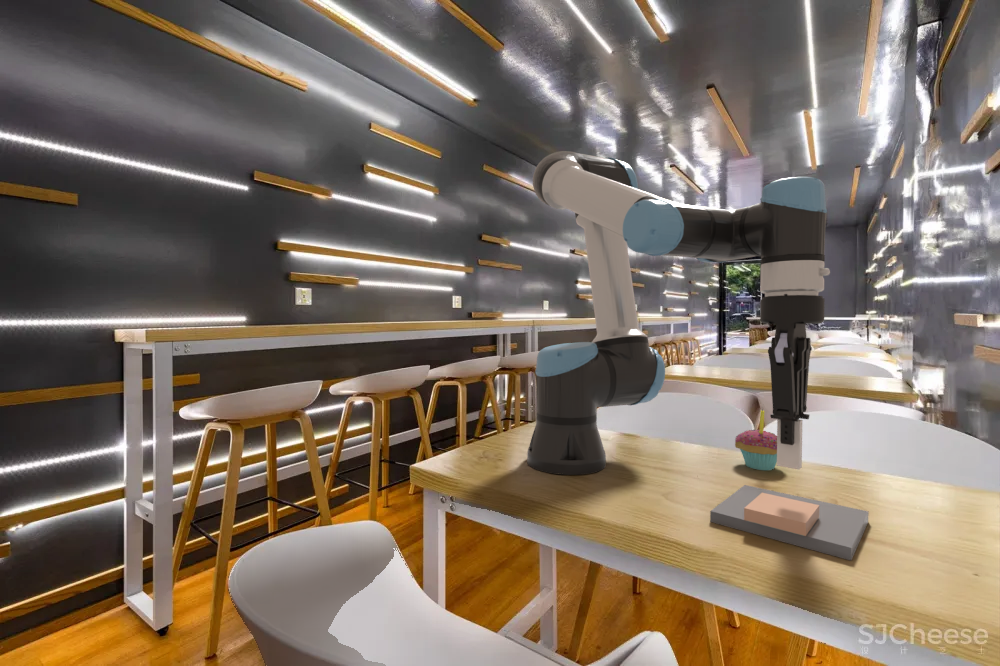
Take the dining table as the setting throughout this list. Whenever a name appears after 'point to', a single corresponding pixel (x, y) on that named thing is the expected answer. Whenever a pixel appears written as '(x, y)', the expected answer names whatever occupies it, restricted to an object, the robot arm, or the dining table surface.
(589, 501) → the dining table surface
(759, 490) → the board
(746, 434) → the cupcake
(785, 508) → the tile
